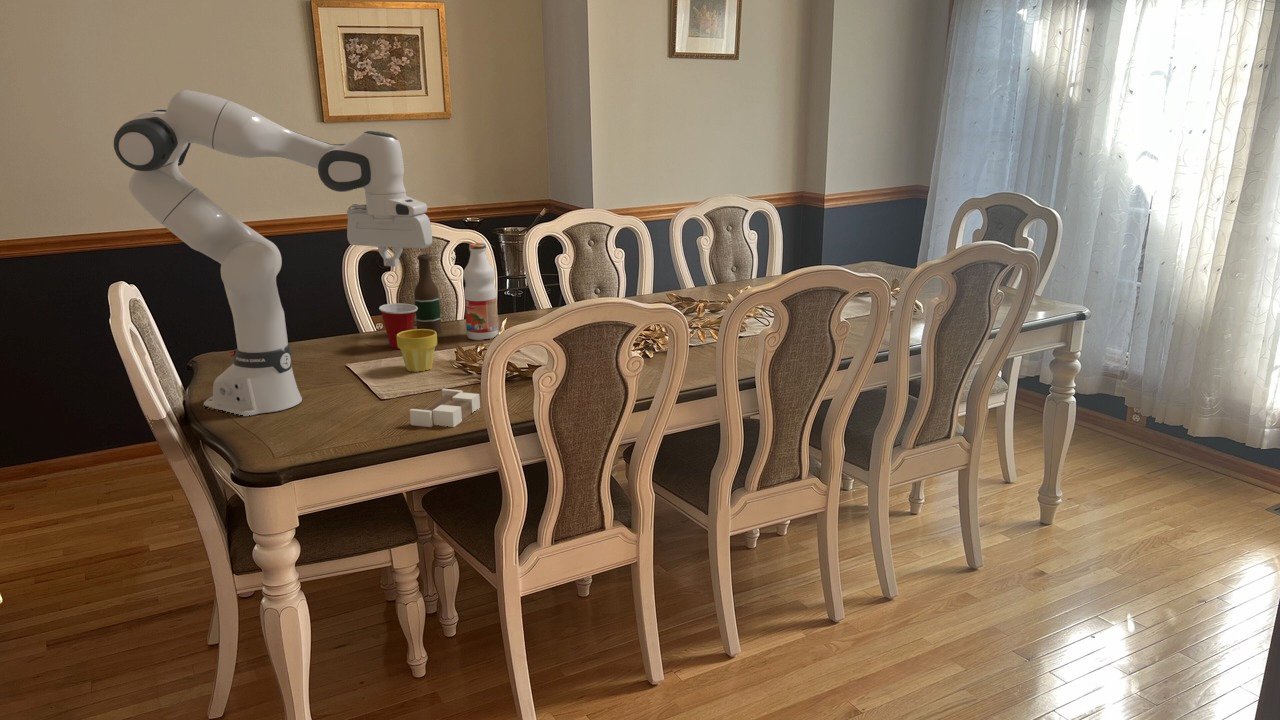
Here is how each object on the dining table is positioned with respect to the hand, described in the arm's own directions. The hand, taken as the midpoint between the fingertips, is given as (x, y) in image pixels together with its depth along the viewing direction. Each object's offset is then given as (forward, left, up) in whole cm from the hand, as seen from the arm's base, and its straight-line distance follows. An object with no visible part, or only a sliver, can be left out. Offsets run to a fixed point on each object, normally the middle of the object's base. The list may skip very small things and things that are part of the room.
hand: (391, 265), depth 213 cm
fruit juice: (-8, +59, -33) cm, 68 cm away
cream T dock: (+15, -6, -33) cm, 37 cm away
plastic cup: (-26, +43, -33) cm, 60 cm away
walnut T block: (+15, -6, -33) cm, 37 cm away
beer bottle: (-26, +59, -33) cm, 73 cm away
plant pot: (-10, +25, -33) cm, 43 cm away
